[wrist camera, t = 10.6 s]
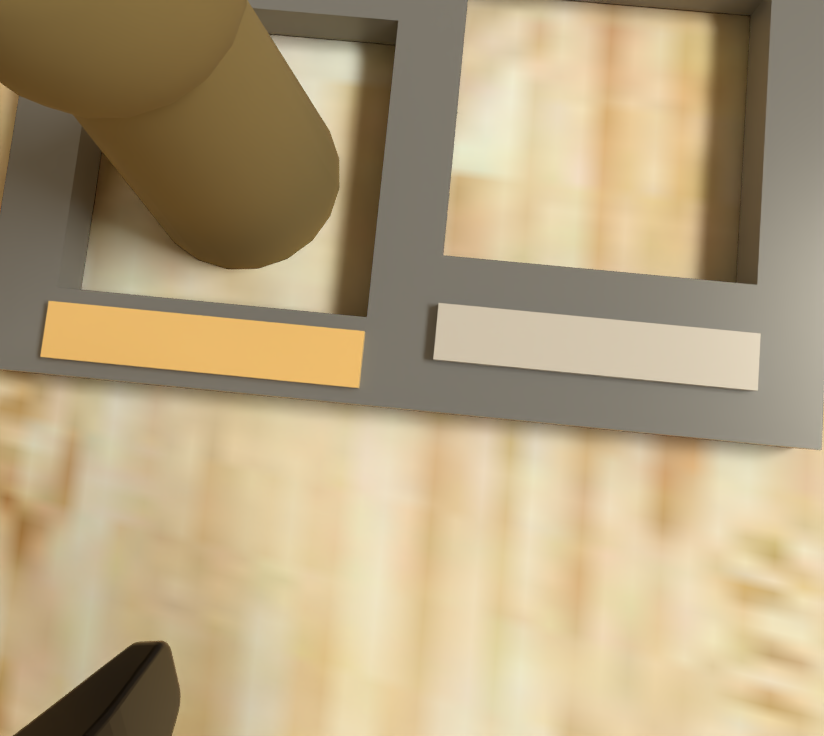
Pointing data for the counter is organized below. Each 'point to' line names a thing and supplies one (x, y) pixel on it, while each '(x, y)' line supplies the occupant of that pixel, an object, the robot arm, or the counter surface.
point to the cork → (184, 116)
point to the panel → (466, 270)
